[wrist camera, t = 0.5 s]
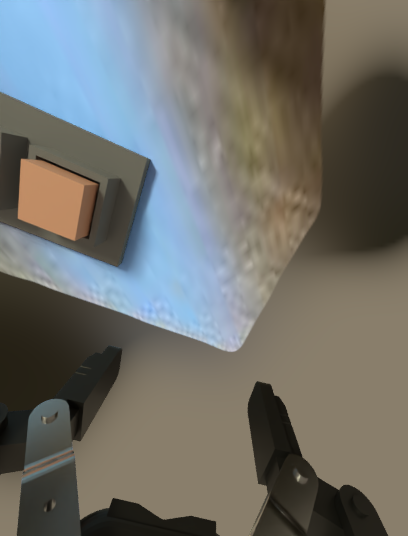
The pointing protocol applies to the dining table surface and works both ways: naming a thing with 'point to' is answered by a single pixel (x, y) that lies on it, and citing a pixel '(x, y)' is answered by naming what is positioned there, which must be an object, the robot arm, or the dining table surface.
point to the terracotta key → (56, 199)
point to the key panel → (79, 163)
